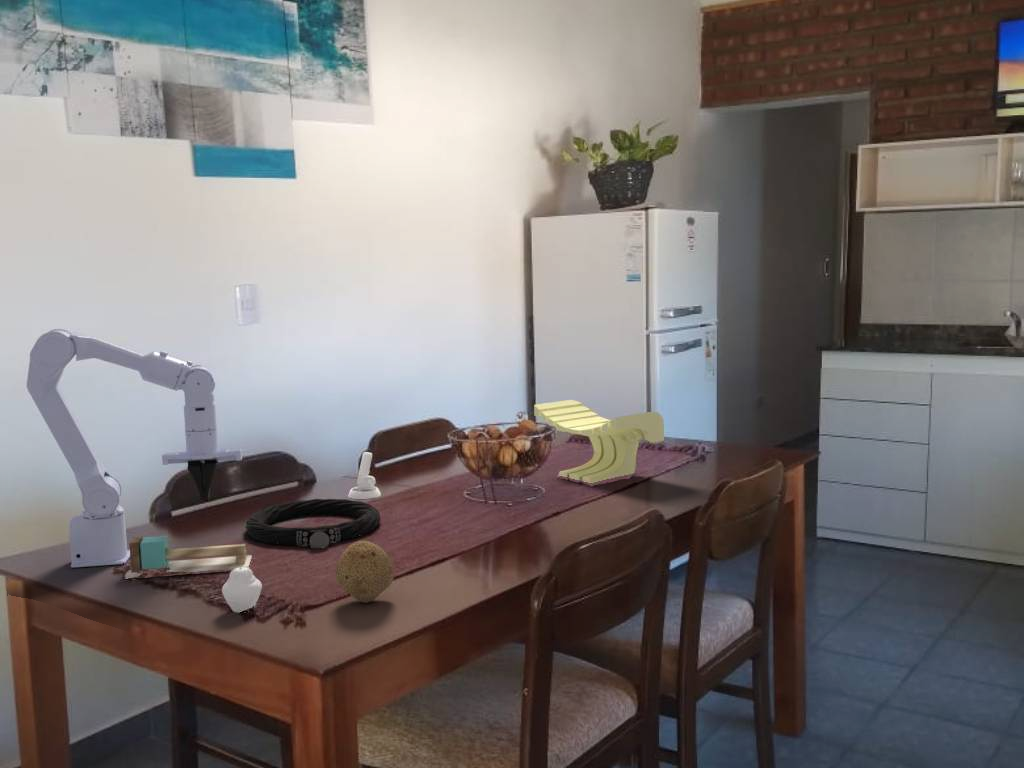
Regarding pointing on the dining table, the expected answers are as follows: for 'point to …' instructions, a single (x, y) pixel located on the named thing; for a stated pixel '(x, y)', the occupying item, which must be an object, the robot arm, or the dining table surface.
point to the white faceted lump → (241, 589)
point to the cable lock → (312, 535)
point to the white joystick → (365, 481)
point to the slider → (154, 552)
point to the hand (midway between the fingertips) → (205, 498)
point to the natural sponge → (364, 571)
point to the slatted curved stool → (603, 437)
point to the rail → (194, 564)
